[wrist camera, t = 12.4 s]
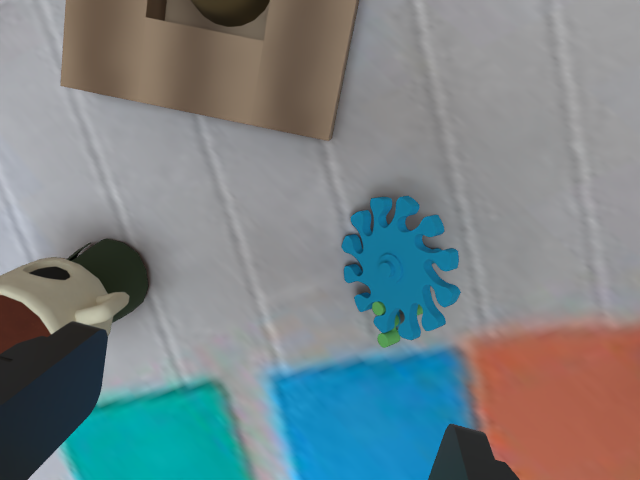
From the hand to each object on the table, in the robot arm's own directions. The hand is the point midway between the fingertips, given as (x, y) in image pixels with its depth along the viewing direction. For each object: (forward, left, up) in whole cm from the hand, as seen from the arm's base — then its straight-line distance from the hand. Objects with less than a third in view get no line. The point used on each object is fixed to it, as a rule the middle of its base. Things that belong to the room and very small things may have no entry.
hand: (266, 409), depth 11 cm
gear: (-5, +3, -27) cm, 27 cm away
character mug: (+16, +9, -27) cm, 32 cm away
